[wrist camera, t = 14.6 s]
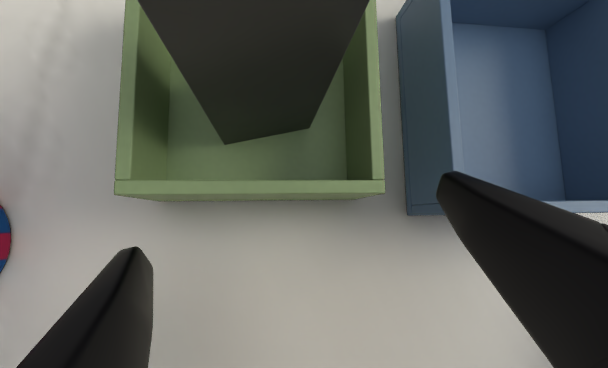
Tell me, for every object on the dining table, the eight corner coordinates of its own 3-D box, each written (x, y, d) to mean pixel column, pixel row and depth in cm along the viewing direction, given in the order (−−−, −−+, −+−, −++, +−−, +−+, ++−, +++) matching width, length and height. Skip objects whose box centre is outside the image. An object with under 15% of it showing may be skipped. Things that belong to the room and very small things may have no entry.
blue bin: (565, 212, 19) (660, 211, 14) (406, 215, 17) (456, 214, 13) (543, 28, 20) (622, -26, 16) (395, 16, 19) (436, -47, 14)
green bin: (354, 199, 17) (385, 193, 12) (158, 201, 16) (112, 194, 11) (348, 27, 18) (374, -36, 14) (166, 14, 17) (128, -61, 12)
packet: (309, 128, 16) (417, -96, 5) (224, 145, 16) (92, -71, 4) (294, 63, 17) (356, -298, 5) (209, 77, 16) (47, -312, 4)
